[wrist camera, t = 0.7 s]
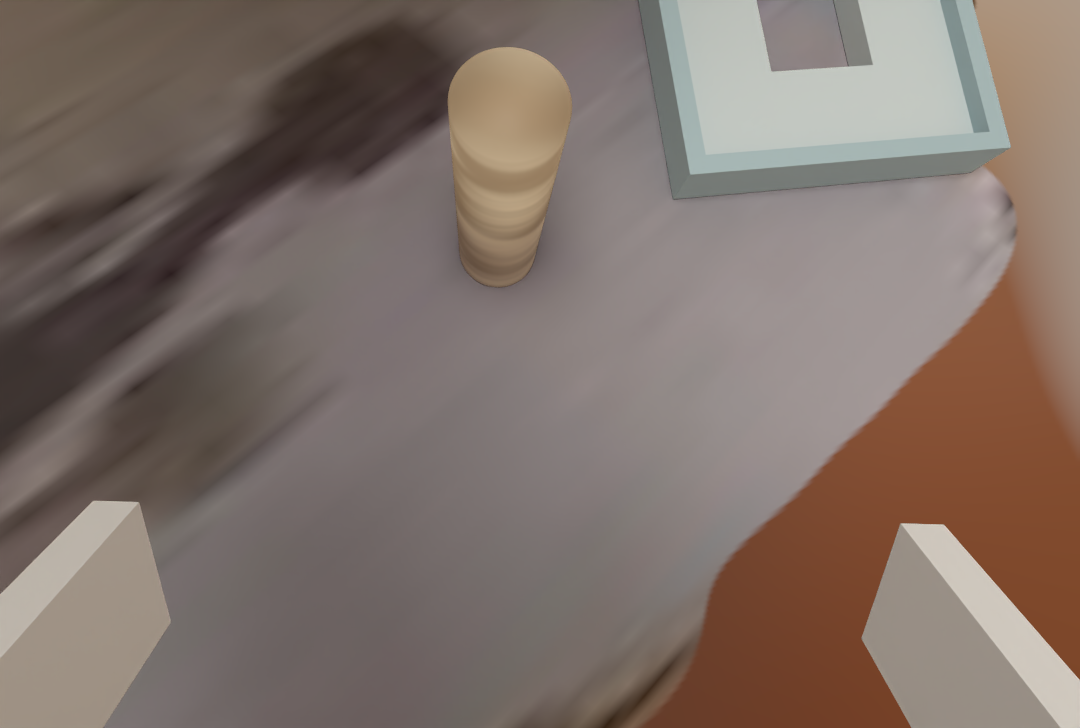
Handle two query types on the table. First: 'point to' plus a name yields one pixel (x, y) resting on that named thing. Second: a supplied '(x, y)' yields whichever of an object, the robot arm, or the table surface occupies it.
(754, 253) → the table surface
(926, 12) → the tray
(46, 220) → the table surface
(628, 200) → the table surface
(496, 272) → the beech dowel
